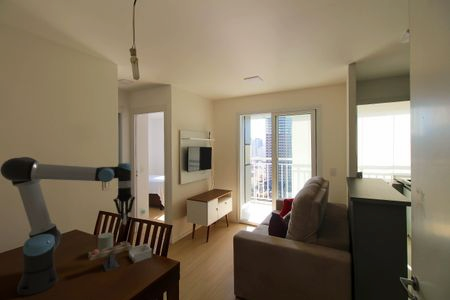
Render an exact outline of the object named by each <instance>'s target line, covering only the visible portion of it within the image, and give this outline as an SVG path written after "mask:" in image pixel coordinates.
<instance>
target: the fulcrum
mask: <svg viewBox="0 0 450 300" xmlns="http://www.w3.org/2000/svg"><path fill="white" fill-rule="evenodd" d="M101 263H102V267H103V268H104V271H105V272H108V271H112V270H115V269H118V268H120V264H119V263H118V261H117V259H116V254H115V253H114V254H110V255H108V256H106V261H103V262H101Z"/></svg>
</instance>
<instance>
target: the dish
mask: <svg viewBox="0 0 450 300" xmlns="http://www.w3.org/2000/svg"><path fill="white" fill-rule="evenodd" d="M128 257H129V259H131V261H132V262H133V263H134V264H136V263H138V262H142V261H145V260H148V259H152V258H153V249H152V248H151V247H150V246H149V245H148V244H147V243H144V244H140V245H136V246H132V249H130V250H128Z"/></svg>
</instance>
